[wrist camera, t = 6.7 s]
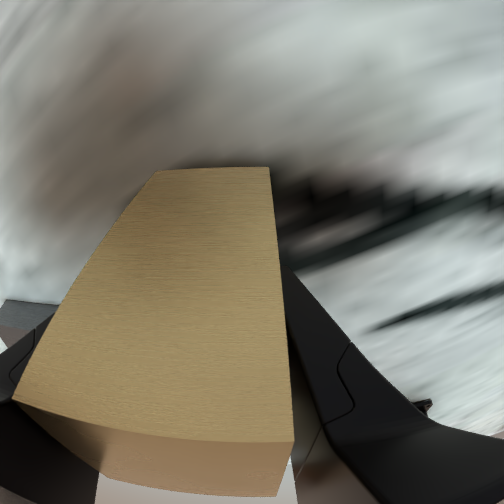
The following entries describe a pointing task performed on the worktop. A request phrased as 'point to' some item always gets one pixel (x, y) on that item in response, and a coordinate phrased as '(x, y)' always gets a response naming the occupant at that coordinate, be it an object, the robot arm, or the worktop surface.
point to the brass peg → (175, 342)
